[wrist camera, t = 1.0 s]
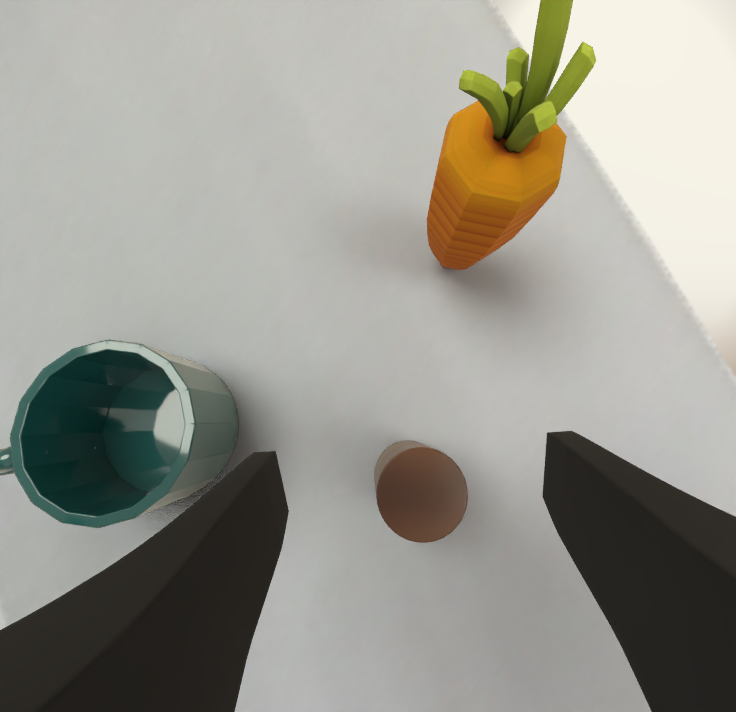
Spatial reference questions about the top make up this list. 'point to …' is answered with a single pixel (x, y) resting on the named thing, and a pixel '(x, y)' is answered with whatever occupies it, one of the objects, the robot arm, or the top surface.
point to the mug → (119, 433)
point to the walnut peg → (419, 491)
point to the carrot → (504, 146)
